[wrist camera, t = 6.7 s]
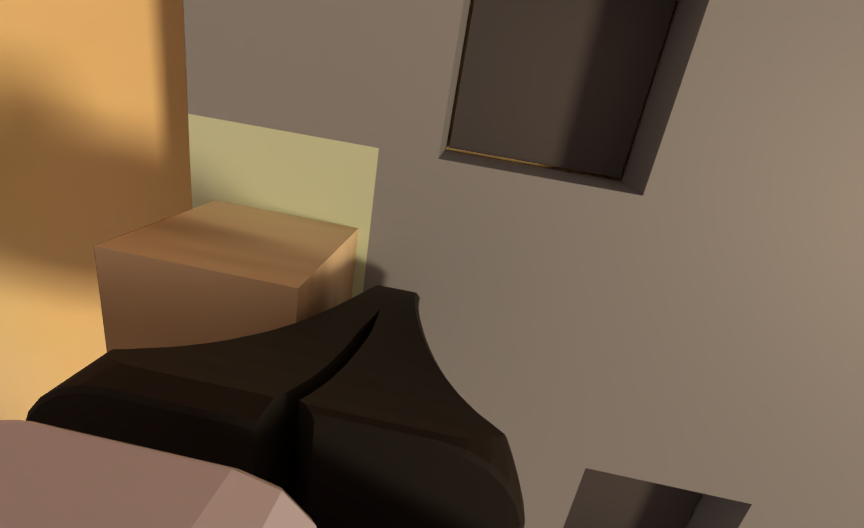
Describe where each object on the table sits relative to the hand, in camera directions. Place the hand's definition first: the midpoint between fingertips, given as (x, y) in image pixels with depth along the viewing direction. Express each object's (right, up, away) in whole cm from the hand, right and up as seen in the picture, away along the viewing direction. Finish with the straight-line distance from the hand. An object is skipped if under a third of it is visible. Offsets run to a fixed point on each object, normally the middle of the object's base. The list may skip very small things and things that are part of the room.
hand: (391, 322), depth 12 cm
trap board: (+5, 0, +3) cm, 6 cm away
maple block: (-3, +1, +1) cm, 4 cm away
